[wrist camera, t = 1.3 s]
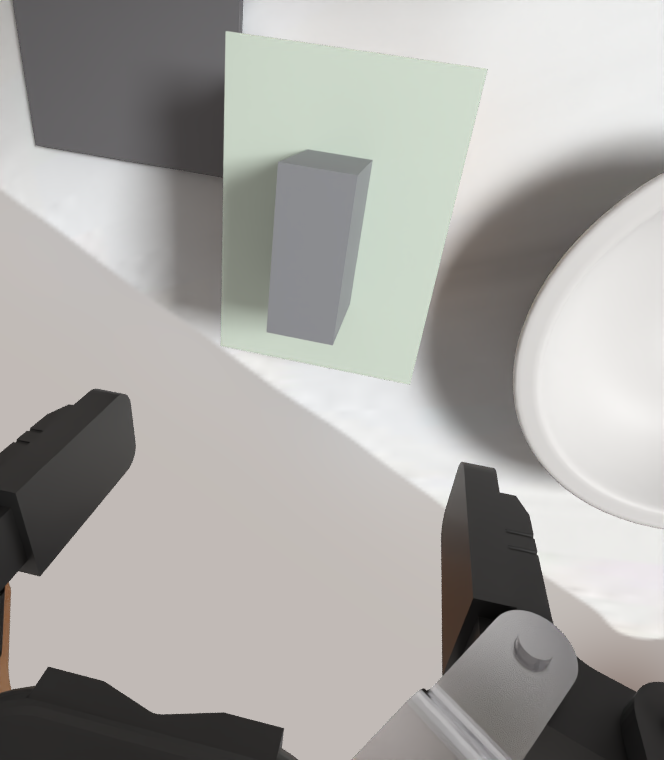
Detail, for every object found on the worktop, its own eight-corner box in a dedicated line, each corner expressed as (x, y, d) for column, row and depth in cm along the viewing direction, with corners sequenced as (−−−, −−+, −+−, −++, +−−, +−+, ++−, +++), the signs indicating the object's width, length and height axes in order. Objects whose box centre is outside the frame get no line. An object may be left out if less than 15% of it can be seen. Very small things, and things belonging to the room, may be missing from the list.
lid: (243, 36, 23) (171, 14, 17) (483, 71, 22) (501, 62, 16) (233, 330, 31) (182, 390, 24) (411, 366, 30) (404, 437, 23)
